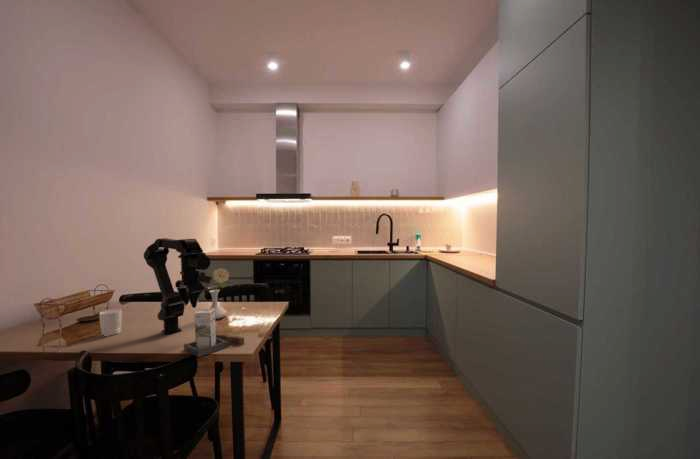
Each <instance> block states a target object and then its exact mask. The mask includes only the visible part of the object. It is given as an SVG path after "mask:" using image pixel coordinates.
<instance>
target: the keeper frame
mask: <svg viewBox="0 0 700 459" xmlns="http://www.w3.org/2000/svg"><path fill="white" fill-rule="evenodd" d="M226 348H229V343H228V341H226V340H223V339H221V338H218V337H216V345H213V346H210V347H207V348H204V349H201V350H199V349H197V348H196V341H195V340H194V341H191V342H188V343H185V344H183V351H186V352H187V353H189V354H191V355H192V356H194V355H196V356H197V357H196V356H195V357H196V358H201V357H203V356H206V355H209V354H212V353H215V352H217V351H220V350H224V349H226Z"/></svg>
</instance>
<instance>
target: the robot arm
mask: <svg viewBox="0 0 700 459" xmlns="http://www.w3.org/2000/svg"><path fill="white" fill-rule="evenodd" d="M170 250H175V251H176V252H177V253H179V255H178V256H177V258H178V259H180V267H181V268H180V269H181V271H179V274H180V275H181V279H179V280H178V279H177V280H176V282H174V283H175V284H174V285H175V288H176V290H177V291H178V293H179V295H178V294H176V293H175V290H174V286H173V283H172V281H171V277H170V275H169V272H168V270H167V265H166V264H167V260H168V255H169V253H170ZM143 259H144V260H145V262H146V264H147V265H148V266H149V267H150V268H151V269H152V270H153V273H154V276H155V279H156V282H157V284H158V288H159V290H160V293H161V296H162V299H161V302H160V310H159V312H158V313H157V316H156V317H157V320H159V321H162V322H163V329H162V330H160V331H161V333H162V334H164V335H165V336H166V335H170V334H175V333H178V332H182V329H181V328H180V327H179V317H183V316H184V313H185V305H188V304H190V305H191V307H192V309H194V308H197V304H198V300H199V297H200V295H201V294H202V293H203V292H204V291H205V290H206V285H205V284H208V285H211V284H210V283H211V281H212V279H213V278H212V276H210V275H206V273H205V272H203V271H205V270H207V269H208V268H210V266H211V260H210V257H209V256H207V254H206V252H204V251H203V249H202V247H201V246H200V243H199V241H198V240H197V239H196V238H186V239H185V238H184V239H181V238H180V239H172V238H167V237H166V238H165V237H164V238H157V239H155V240H154V242H153V243H152V244H150V245H149V246H148V247H146V249H145V250H144V252H143ZM199 270H200V271H199ZM202 270H203V271H202ZM204 283H205V284H204Z"/></svg>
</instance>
